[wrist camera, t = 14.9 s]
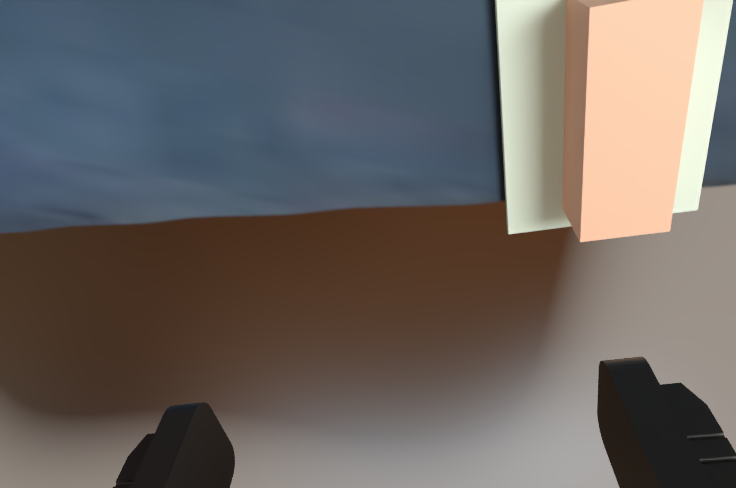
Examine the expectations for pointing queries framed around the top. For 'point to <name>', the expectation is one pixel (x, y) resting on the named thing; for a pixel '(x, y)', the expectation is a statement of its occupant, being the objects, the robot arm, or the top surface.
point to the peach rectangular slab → (625, 112)
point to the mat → (547, 102)
